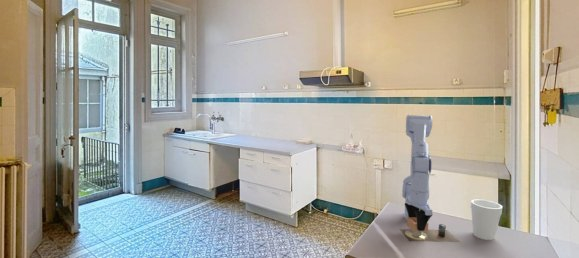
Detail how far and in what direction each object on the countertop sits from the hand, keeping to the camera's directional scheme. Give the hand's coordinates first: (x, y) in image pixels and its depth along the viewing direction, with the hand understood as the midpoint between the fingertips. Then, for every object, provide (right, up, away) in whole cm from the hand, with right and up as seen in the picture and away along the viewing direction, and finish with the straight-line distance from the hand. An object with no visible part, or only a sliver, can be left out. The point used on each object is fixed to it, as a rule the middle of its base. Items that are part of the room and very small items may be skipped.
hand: (416, 226), depth 104 cm
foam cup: (+25, -5, +1) cm, 25 cm away
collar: (0, -1, 0) cm, 1 cm away
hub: (0, -4, +1) cm, 4 cm away
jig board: (+5, -4, +1) cm, 6 cm away
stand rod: (+9, -4, 0) cm, 10 cm away
